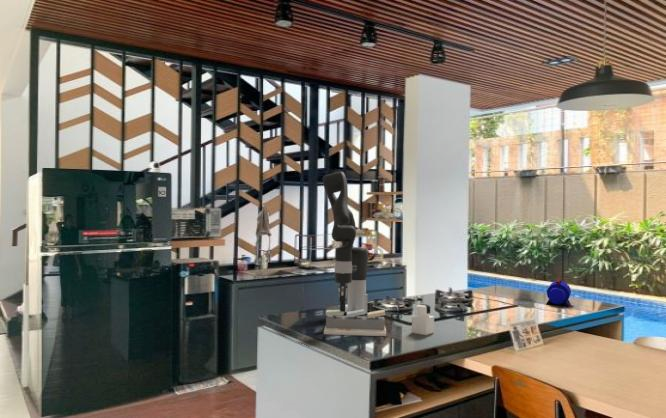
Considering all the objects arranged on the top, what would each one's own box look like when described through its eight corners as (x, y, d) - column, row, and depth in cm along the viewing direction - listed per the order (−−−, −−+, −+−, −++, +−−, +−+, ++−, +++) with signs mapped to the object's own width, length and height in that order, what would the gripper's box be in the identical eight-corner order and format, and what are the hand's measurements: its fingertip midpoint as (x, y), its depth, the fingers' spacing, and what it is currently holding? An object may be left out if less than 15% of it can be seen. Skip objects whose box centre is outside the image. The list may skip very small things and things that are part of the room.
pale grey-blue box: (364, 314, 225) (363, 308, 225) (364, 316, 220) (363, 311, 220) (347, 317, 225) (346, 312, 226) (347, 319, 220) (346, 314, 221)
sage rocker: (343, 315, 226) (343, 309, 226) (343, 317, 221) (343, 312, 221) (326, 315, 226) (326, 309, 226) (325, 317, 221) (325, 312, 221)
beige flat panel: (385, 314, 224) (384, 309, 224) (386, 317, 219) (384, 311, 219) (368, 318, 225) (367, 312, 225) (368, 320, 220) (367, 314, 220)
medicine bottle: (419, 330, 226) (420, 302, 226) (434, 332, 221) (434, 304, 221) (411, 332, 220) (411, 304, 220) (426, 335, 216) (426, 307, 216)
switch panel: (385, 329, 226) (385, 316, 226) (386, 336, 213) (386, 322, 213) (326, 327, 228) (326, 314, 228) (323, 334, 215) (324, 321, 215)
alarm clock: (571, 304, 298) (571, 278, 298) (568, 307, 287) (568, 280, 287) (548, 302, 304) (549, 276, 304) (545, 305, 294) (545, 278, 294)
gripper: (335, 269, 230) (335, 308, 230) (333, 272, 217) (333, 314, 217) (352, 269, 230) (351, 308, 229) (351, 273, 216) (350, 314, 216)
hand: (342, 311), depth 223 cm, fingers closed
